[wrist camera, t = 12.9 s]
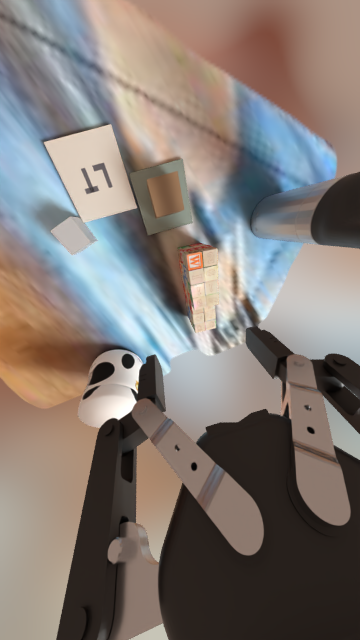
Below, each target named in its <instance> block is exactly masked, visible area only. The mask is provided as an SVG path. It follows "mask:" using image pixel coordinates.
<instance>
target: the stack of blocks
mask: <svg viewBox="0 0 360 640" xmlns="http://www.w3.org/2000/svg"><path fill="white" fill-rule="evenodd" d="M178 254H179V263H180V269H181V276H182V282H183V286H184V292H185V298H186V307H187V312H188V317H189V320H190V322H191V325H192V327H193V328H194V330H195V333H197V332H201V331H205V330H209V329H213V328H216V320H215V319H216V315H215V305H218V304H219V293H218V265H217V264H218V250H217V248H214V247H212V246H210V245H205V244H202V243H198V244H193V245H189V246H185V247H179V248H178Z"/></svg>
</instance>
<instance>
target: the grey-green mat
mask: <svg viewBox="0 0 360 640" xmlns="http://www.w3.org/2000/svg"><path fill="white" fill-rule="evenodd" d="M175 171H178V176H179V182H180V187H181V193H182V198H183V204H184V210H183V211H181V212H178V213H174V214H171V215H167V216H164V217H160V218H157V219H156V218H155V214H154V210H153V207H152V203H151V199H150V195H149V192H148V188H147V179H150V178H154V177H158V176H161V175H165V174H168V173H172V172H175ZM129 175H130V178H131V182H132V185H133V188H134V192H135V195H136V198H137V201H138V205H139V208H140V211H141V214H142V218H143V221H144V224H145V227H146V231H147V234H148V235H151V234H155V233H158V232H162V231H165V230H169V229H172V228H176V227H180V226H183V225H187V224H190V223H193V222H192V216H191V209H190V203H189V197H188V190H187V184H186V178H185V171H184V165H183V159H180V160H176V161H172V162H169V163H165V164H161V165H158V166H154V167H150V168H147V169H143V170H139V171H136V172H132V173H129Z"/></svg>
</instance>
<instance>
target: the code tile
mask: <svg viewBox="0 0 360 640" xmlns="http://www.w3.org/2000/svg"><path fill="white" fill-rule="evenodd" d="M44 144H45V146H46V148H47V150H48V152H49V154H50V156H51V158H52V160H53V162H54V164H55V166H56V168H57V170H58V173H59V175H60V177H61V179H62V181H63V183H64V185H65V187H66V189H67V191H68V193H69V195H70V197H71V199H72V201H73V203H74V205H75V207H76V209H77V211H78V213H79V215H80V217H81V219H82V221H83V223H85V222H89V221H93V220H96V219H100V218H103V217H107V216H111V215H114V214H118V213H121V212H125V211H129V210H132V209H136V208H137V206H136V202H135V199H134V196H133V193H132V190H131V186H130V183H129V180H128V177H127V174H126V171H125V167H124V164H123V161H122V158H121V155H120V151H119V148H118V145H117V142H116V139H115V135H114V132H113V129H112V126H111V124H110V125H106V126H103V127H99V128H95V129H91V130H88V131H84V132H80V133H76V134H73V135H69V136H65V137H62V138H58V139H54V140H50V141H47V142H44Z"/></svg>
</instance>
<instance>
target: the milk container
mask: <svg viewBox="0 0 360 640" xmlns="http://www.w3.org/2000/svg"><path fill="white" fill-rule="evenodd" d="M142 365H143V363H142V361H141V359H140V358H139V357H138V356H137V355H136V354H134V353H133V352H130V351H127V350H122V349H115V350H109V351H106V352H104V353H102V354H101V355H99V356H98V357H97V358H96V359H95V361H94V362H93V364H92V366H91V368H90V371H89V376H88V384H87V386H86V389H85V391H84V393H83V397H82V399H81V401H80V404H79V409H78V417H79V419H80V420H81V421H82V422H83V423H85V424H87V425H90V426H93V427H99V428H100V427H101V426H102V425H103V424H104V423H105V422H106V421H107V420H109V419H111V418H117V419H118V420H119V419H120V418H122V417H124V416H125V415H127V414H128V413H129V412H131V411H132V409H133V407H134V405H135V404H136V402H137V394H138V382H139V381H138V380H139V370H140V368H141V366H142Z"/></svg>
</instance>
